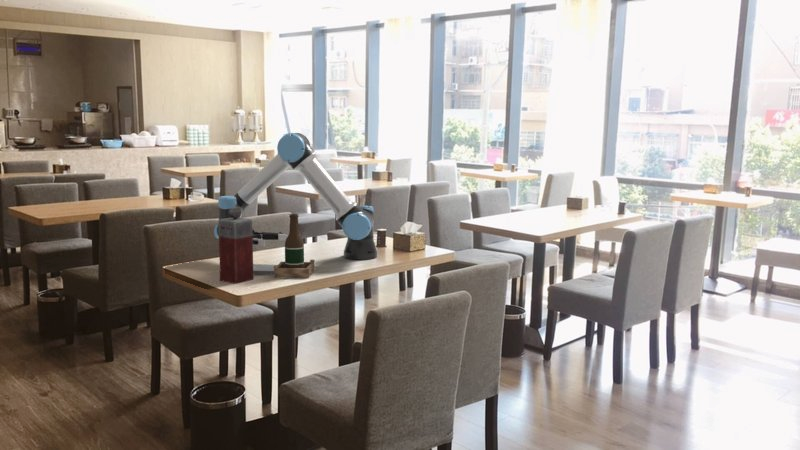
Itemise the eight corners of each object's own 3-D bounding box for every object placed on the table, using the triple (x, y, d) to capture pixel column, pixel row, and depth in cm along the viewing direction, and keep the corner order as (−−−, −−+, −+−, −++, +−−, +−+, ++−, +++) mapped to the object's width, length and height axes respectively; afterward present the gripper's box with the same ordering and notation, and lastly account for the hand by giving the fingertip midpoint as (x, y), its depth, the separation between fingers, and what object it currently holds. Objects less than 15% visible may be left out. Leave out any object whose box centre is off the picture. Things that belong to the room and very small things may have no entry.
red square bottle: (233, 275, 267) (231, 204, 263) (253, 279, 261) (252, 206, 257) (215, 279, 260) (213, 206, 255) (236, 283, 253) (234, 208, 249)
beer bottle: (308, 272, 273) (307, 213, 269) (299, 276, 266) (298, 215, 262) (290, 271, 275) (289, 212, 272) (281, 275, 268) (280, 214, 264)
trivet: (282, 268, 281) (282, 264, 280) (276, 274, 269) (276, 271, 268) (253, 267, 281) (253, 264, 281) (245, 274, 269) (245, 270, 269)
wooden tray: (314, 270, 277) (314, 259, 276) (309, 278, 263) (309, 266, 263) (280, 269, 277) (280, 259, 277) (273, 277, 264) (273, 266, 263)
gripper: (265, 240, 298) (299, 246, 285) (218, 248, 278) (253, 254, 265) (265, 223, 296) (299, 228, 284) (218, 229, 277) (253, 235, 264)
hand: (277, 241), depth 274 cm, fingers open, 13 cm apart
